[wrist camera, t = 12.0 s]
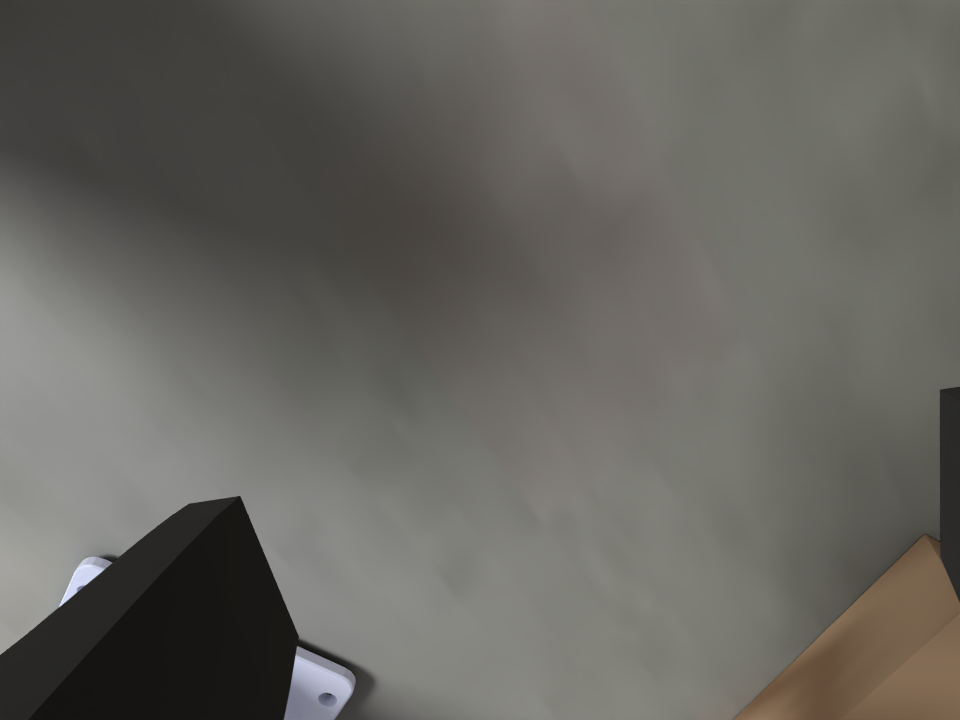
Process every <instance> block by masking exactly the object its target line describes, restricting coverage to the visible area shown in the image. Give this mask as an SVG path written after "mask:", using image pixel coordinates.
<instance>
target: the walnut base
mask: <svg viewBox="0 0 960 720" xmlns="http://www.w3.org/2000/svg"><path fill="white" fill-rule="evenodd" d="M734 720H960V602H959V600H958V598H957V595H956V593H955V591H954V588H953V586H952V584H951V581H950V579H949V577H948V574H947V572H946V570H945V567H944V565H943V562H942V560H941V558H940V542H939V541H937V540H935V539H933V538H931V537H929V536H928V535H926V534H924V535H923V536H922V537H921V538H920V539H919V540H918V541H917V542H916V543H915V544H914V545H913V546H912V547H911V548H910V549H909V550H908V551H907V552H906V553H905V554H904V555H903V556H902V557H901V558H900V559H899V560H898V561H897V562H895V563H894V564H893V565H892V566H891V567H890V568H889V569H888V570H887V571H886V572H885V573H884V574H883V575H882V576H881V577H880V578H879V579H878V580H877V581H876V582H875V583H874V584H873V585H872V586H871V587H870V588H869V589H868V590H867V591H866V592H865V593H864V594H863V595H861V596H860V597H859V598H858V599H857V600H856V601H855V602H854V603H853V604H852V605H851V606H850V607H849V608H848V609H847V610H846V611H845V612H844V613H843V614H842V615H841V616H840V617H839V618H838V619H837V620H836V621H835V622H834V623H833V624H832V625H831V626H830V627H829V628H827V629H826V630H825V631H824V632H823V633H822V634H821V635H820V636H819V637H818V638H817V639H816V640H815V641H814V642H813V643H812V644H811V645H810V646H809V647H808V648H807V649H806V650H805V651H804V652H803V653H802V654H801V655H800V656H799V657H798V658H797V659H796V660H794V661H793V662H792V663H791V664H790V665H789V666H788V667H787V668H786V669H785V670H784V671H783V672H782V673H781V674H780V675H779V676H778V677H777V678H776V679H775V680H774V681H773V682H772V683H771V684H770V685H769V686H768V687H767V688H766V689H765V690H764V691H763V692H762V693H760V694H759V695H758V696H757V697H756V698H755V699H754V700H753V701H752V702H751V703H750V704H749V705H748V706H747V707H746V708H745V709H744V710H743V711H742V712H741V713H740V714H739V715H738V716H737V717H736V718H735V719H734Z"/></svg>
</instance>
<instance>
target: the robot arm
mask: <svg viewBox="0 0 960 720" xmlns="http://www.w3.org/2000/svg"><path fill="white" fill-rule="evenodd" d="M940 558H941V560H942V562H943V565H944V567H945V570H946V572H947V574H948V577H949V579H950V581H951V584H952V586H953V588H954V591H955V593H956V595H957V598H958V600H959V602H960V387H955V388H948V389H942V390H940ZM298 638H299V636H298V634H297V631H296V629H295V626H294V624H293V622H292V619H291V617H290V614H289V612H288V610H287V607H286V605H285V602H284V600H283V598H282V595H281V593H280V590H279V588H278V586H277V583H276V581H275V578H274V576H273V574H272V571H271V569H270V566H269V564H268V562H267V559H266V557H265V554H264V552H263V550H262V547H261V545H260V542H259V540H258V538H257V535H256V533H255V530H254V528H253V526H252V523H251V521H250V518H249V516H248V514H247V511H246V509H245V506H244V504H243V502H242V499H241V497H240V496H237V497H231V498H224V499H218V500H211V501H204V502H198V503H191V504H188V505H187V506H185V507H184V508H182V509H181V510H179V511H178V512H176V513H175V514H173V515H172V516H170V517H169V518H168V519H166V520H165V521H164V522H162V523H161V524H160V525H158V526H157V527H156V528H155V529H153V530H152V531H151V532H149V533H148V534H147V535H146V536H144V537H143V538H142V539H141V540H140V541H138V542H137V543H136V544H135V545H133V546H132V547H131V548H130V549H129V550H127V551H126V552H125V553H124V554H122V555H121V556H120V557H119V558H118V559H116V560H115V561H114V562H113V563H112V562H110V561H108V560H105V559H102V558H99V557H89V558H86V559H84V560H83V561H82V562H81V564H80V565H79V566H78V568H77V569H76V571H75V572H74V575H73V577H72V579H71V581H70V584H69V586H68V588H67V590H66V593H65V595H64V597H63V599H62V602H61V604H60V606H59V608H58V609H57V610H55V611H54V612H53V613H52V614H51V615H49V616H48V617H47V618H46V619H45V620H43V621H42V622H41V623H40V624H39V625H37V626H36V627H35V628H34V629H33V630H31V631H30V632H29V633H28V634H26V635H25V636H24V637H23V638H21V639H20V640H19V641H18V642H16V643H15V644H14V645H12V646H11V647H10V648H9V649H7V650H6V651H5V652H4V653H2V654H1V655H0V720H334V719H335V718H336V717H337V715H338V714H339V712H340V711H341V709H342V708H343V707H344V705H345V704H346V702H347V701H348V700H349V698H350V697H351V695H352V693H353V690H354V687H355V683H356V680H355V676H354V675H353V673H352V672H351V671H350V670H348V669H346V668H345V667H343V666H340V665H338V664H336V663H334V662H332V661H329V660H327V659H325V658H323V657H321V656H318V655H316V654H314V653H312V652H309V651H307V650H305V649H303V648H301V647H298V646H297V644H298ZM325 693H330V694H332V695H327V694H325Z"/></svg>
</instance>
